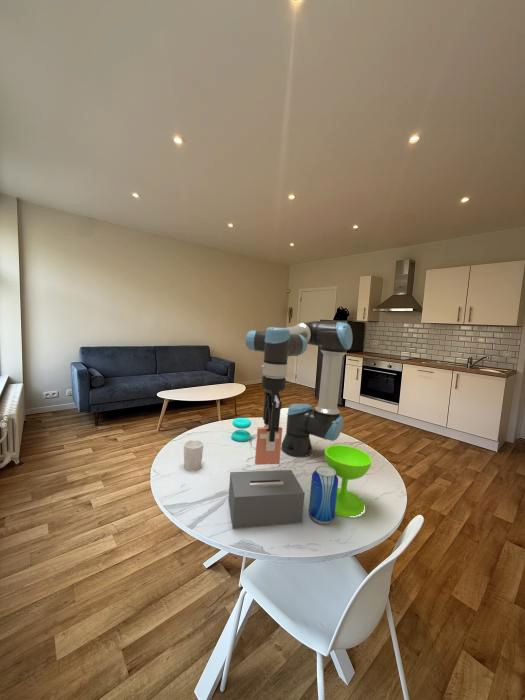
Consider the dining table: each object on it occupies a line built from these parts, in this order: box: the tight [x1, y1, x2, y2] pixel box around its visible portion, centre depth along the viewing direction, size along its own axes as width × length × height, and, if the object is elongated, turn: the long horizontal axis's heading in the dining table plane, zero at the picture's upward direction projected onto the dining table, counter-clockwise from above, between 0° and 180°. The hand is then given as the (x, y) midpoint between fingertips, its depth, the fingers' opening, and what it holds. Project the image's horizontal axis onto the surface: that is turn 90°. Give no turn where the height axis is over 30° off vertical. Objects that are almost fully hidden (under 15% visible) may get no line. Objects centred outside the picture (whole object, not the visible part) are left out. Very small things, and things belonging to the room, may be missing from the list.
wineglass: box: [324, 444, 373, 518], centre depth 101 cm, size 16×16×18 cm
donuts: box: [231, 417, 252, 442], centre depth 150 cm, size 10×10×10 cm
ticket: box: [254, 426, 283, 466], centre depth 92 cm, size 8×1×12 cm, turn 102°
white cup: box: [183, 439, 204, 472], centre depth 118 cm, size 8×8×10 cm
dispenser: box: [228, 469, 305, 529], centre depth 94 cm, size 22×14×11 cm, turn 102°
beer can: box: [308, 465, 339, 525], centre depth 92 cm, size 8×8×16 cm
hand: (268, 446), depth 92 cm, fingers open, 4 cm apart
